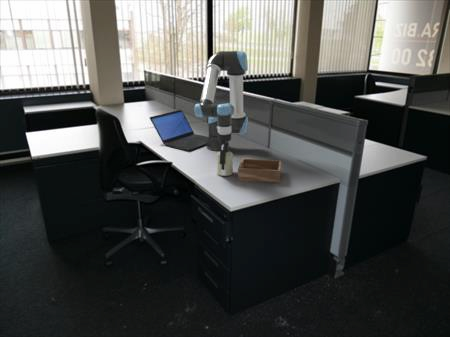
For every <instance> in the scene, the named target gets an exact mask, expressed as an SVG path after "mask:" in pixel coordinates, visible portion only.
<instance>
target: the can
mask: <svg viewBox="0 0 450 337" xmlns="http://www.w3.org/2000/svg"><path fill="white" fill-rule="evenodd" d="M233 155H234V153H233V152H232V151H230V150H229V151H228V152H226V156H225V163H226V175H221V164H219V163H220V151H218V152H217V153H216V174H217V175H218V176H222V177H228V176H231V175H233V174H234V169H233V168H234V166H233V165H234V162H233V160H234V158H233V157H234V156H233Z"/></svg>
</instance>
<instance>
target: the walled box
mask: <svg viewBox="0 0 450 337" xmlns="http://www.w3.org/2000/svg"><path fill="white" fill-rule="evenodd" d="M281 172H282V160H280V159H279V160H278V159H277V160H276V159H263V158H261V159H260V158H245V157H244V158H241V160H240V163H239V165H238V168H237V181H238V182H239V181H240V182H255V183H271V184H280V183H281Z"/></svg>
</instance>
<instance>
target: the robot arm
mask: <svg viewBox="0 0 450 337" xmlns="http://www.w3.org/2000/svg"><path fill="white" fill-rule="evenodd" d="M248 65H249V63H248V57H247V53H246V51H244V50H243V51H240V50H229V51H228V50H226V51H224V50H220V51H217V52H215V53H214V54H212V55H211V56H210V57H209V59H208V60H207V62H206V65H205V77H204V81H203V82H204V83H203V88H202V92H201V96H200V101H199V103H195V105H194V115H195V117H197V118H208V137H209V138H208V142H207V145H206V149H207V150H210V151H218V152H220V163H219V164H221V175H226V163H225V156H226V152H228V151H229V152H230V142H231V140H232V134H233V135H235V134H236V135H237V134H238V135H242V134H243V135H244V134H245V133H246V131H247V128H248V122H249V121H248V120H249V117H248V116H246V113H245V111H244V76H245V75H246V72H247V71H248V69H249V66H248ZM223 71H224V72H226V75H227V76H228V78H229V80H228V81H229V102H226V103H219V104H217V103H216V104H215V103H214V101H215V96H216V91H217V86H218V79H219V75H220V74H221V72H223ZM221 175H220V176H221Z"/></svg>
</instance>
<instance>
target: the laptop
mask: <svg viewBox="0 0 450 337" xmlns="http://www.w3.org/2000/svg"><path fill="white" fill-rule="evenodd" d="M149 120H150V121H151V123H152V125H153V128H154V129H155V130H156V133H157V134H158V136H159V139H160V140H161V142H162V144H163V145H165V147H170V148H175V149H178V150H182V151H186V152H191V151H194V150H197V149H199V148H202V147H204V146H207V142H208V138H209V136H206V135H201V134H196V133H194V129H193V128H192V126H191V125H190V122H189V121H188V118H187V117H186V115H185V113H184V112H183V110H181V109H179V110H176V111H175V110H174V111H169V112H166V113H162V114H161V113H160V114H158V115H153V116H149ZM196 148H197V149H196Z"/></svg>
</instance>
